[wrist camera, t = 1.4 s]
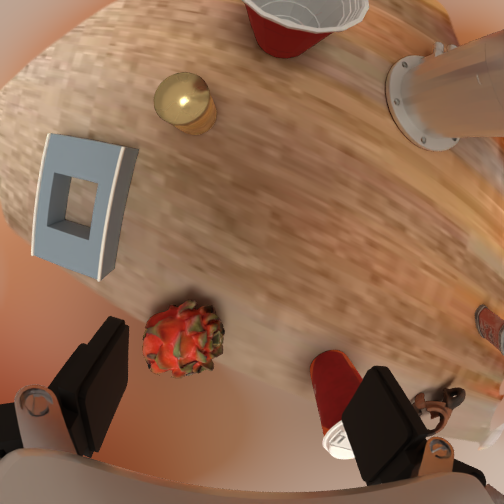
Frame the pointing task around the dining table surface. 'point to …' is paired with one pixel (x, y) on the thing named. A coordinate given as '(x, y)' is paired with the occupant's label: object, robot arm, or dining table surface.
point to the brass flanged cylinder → (185, 103)
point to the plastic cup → (300, 22)
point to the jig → (105, 208)
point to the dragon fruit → (183, 340)
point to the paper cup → (334, 398)
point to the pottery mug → (440, 406)
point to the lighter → (490, 327)
